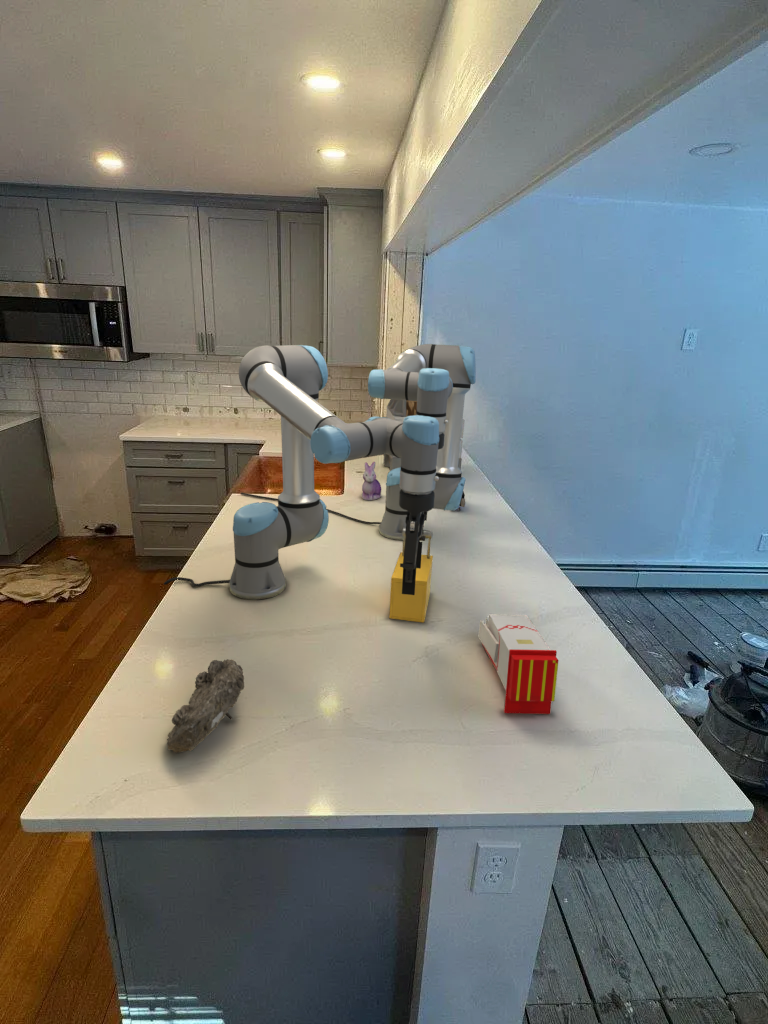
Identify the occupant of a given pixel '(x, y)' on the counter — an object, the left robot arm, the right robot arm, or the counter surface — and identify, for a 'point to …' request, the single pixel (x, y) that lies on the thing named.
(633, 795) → the counter surface
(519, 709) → the toy
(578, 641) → the counter surface
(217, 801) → the counter surface
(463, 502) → the figurine character
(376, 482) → the figurine
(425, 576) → the yellow block with rod
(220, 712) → the fossil
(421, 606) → the yellow open-ended box
